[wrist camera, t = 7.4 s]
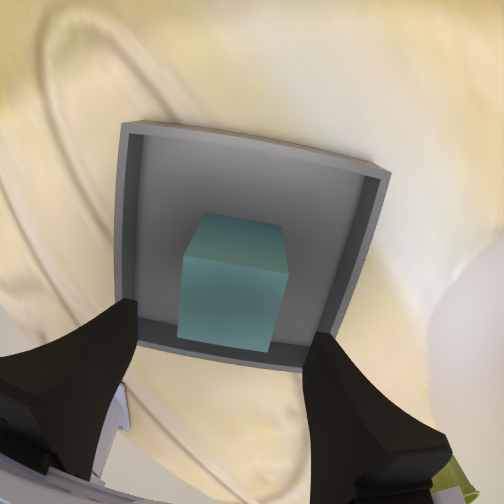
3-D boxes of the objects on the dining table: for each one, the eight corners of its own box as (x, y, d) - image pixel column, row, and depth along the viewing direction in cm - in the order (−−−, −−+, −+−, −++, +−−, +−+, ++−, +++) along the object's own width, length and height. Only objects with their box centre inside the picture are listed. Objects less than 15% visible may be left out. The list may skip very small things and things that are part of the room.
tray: (131, 315, 23) (117, 340, 20) (141, 120, 17) (121, 122, 15) (314, 347, 24) (319, 374, 21) (373, 163, 18) (391, 172, 15)
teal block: (196, 278, 21) (177, 337, 15) (205, 212, 19) (183, 255, 14) (265, 290, 21) (267, 352, 16) (280, 226, 19) (288, 273, 14)
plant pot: (394, 478, 35) (406, 525, 27) (444, 444, 32) (462, 494, 24) (428, 480, 37) (440, 521, 29) (472, 449, 33) (489, 491, 26)
